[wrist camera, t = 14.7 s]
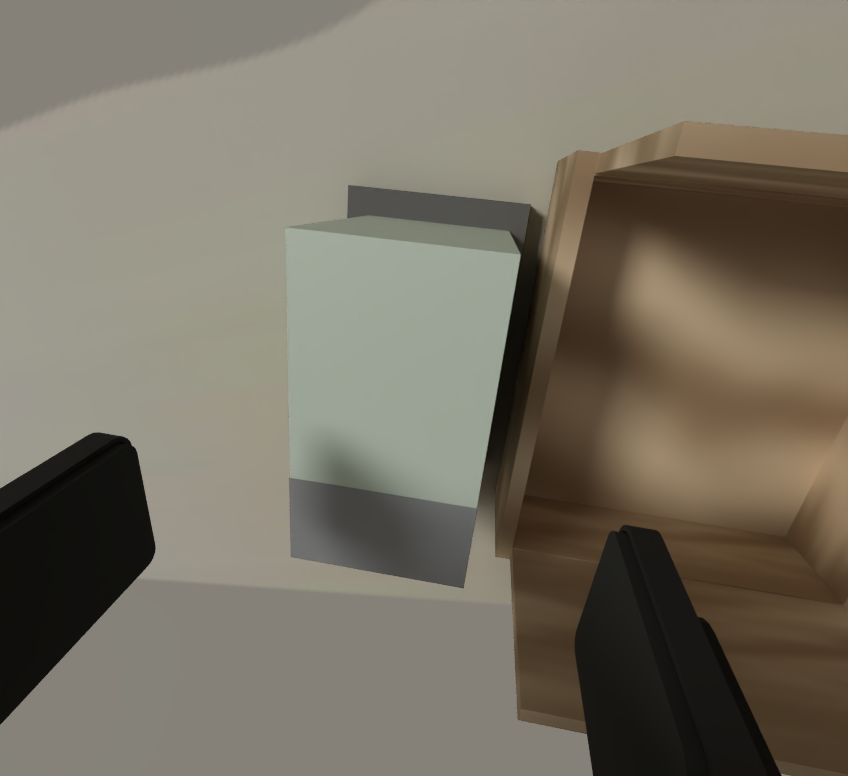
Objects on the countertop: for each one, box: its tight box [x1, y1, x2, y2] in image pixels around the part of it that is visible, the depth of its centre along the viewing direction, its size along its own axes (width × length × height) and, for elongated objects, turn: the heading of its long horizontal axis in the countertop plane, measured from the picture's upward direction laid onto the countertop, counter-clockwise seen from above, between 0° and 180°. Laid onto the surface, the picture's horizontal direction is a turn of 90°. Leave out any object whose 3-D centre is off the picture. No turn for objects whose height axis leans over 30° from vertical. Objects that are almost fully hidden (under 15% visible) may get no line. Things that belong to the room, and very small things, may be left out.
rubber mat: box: [347, 185, 531, 475], centre depth 20 cm, size 12×7×1 cm, turn 175°
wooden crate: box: [495, 121, 848, 776], centre depth 15 cm, size 15×14×11 cm
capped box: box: [285, 215, 521, 588], centre depth 16 cm, size 10×6×8 cm, turn 175°
